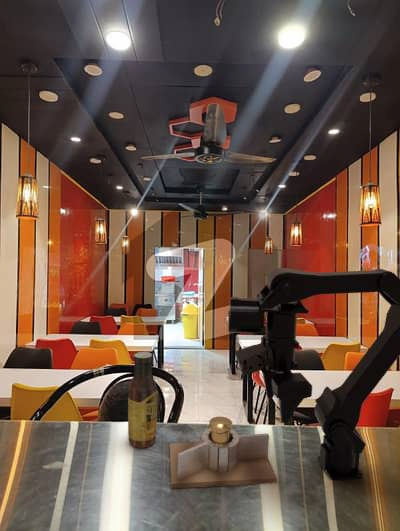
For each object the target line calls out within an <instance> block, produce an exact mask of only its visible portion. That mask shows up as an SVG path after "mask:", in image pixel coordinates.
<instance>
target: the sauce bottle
mask: <svg viewBox="0 0 400 531" xmlns="http://www.w3.org/2000/svg"><path fill="white" fill-rule="evenodd" d="M153 360H154V359H153V354H152V353H151V352H148V351H139V352H136V353H134V354H133V363H134V370H133V371H134V372H133V374H134V375H133V377H132V378H131V379H130V382H129V384H128V385H129V386H128V397H127V398H128V399H127V402H128V405H127V406H128V407H127V415H128V416H127V420H128V421H127V422H128V423H127V424H128V425H127V430H128V431H127V434H128V442H129V444H130V445H131V446H132V447H134V448H138V449H139V448H140V449H143V448H147V447H150V446H151V445H154V443H155V442H156V438H157V424H158V421H157V420H158V416H157V415H158V414H157V413H158V387H157V385H156V381H155V379H154V376H153V371H152V370H153V369H152V368H153V367H152V364H153V363H152V362H153Z"/></svg>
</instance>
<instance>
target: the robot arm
mask: <svg viewBox="0 0 400 531" xmlns="http://www.w3.org/2000/svg"><path fill="white" fill-rule="evenodd" d="M359 293H361V294H363V293H364V294H365V293H379V295H380V296H381V297H382V298H383V299H384V300H385V301H386V302H387V303H388V304H389V305H390V307H388V308H389V309H388V310H387V312H386V316H385V321H384V326H383V329H382V331H381V332H380V334H379V335H378V336H377V337H376V339H375V340H374V341H373V342H372V344H371V346H370V347H369V348H368V349H367V350H366V352H365V353H364V354H363V356H362V358H360V360H359V362H358V363H357V364H356V365H355V366H354V368H353V370H352V371H351V372H350V373H349V375H348V376H347V377H346V379H345V380H344V381H343V383H342V384H341V385H340V386H338V387H336V388H334V389H331V388H330V387H329V386H325V388H324V389H323V391H322V393H321V395H319V397H317V398H315V399H314V400H315V403H316V404H315V406H314V415H315V418H316V419H317V422H318V423H319V426H320V427H321V430H322V432H323V433H324V435H323V439H322V440H323V441H322V443H320V448H319V450H320V451H319V455H318V456H317V459H318V461H319V463H320V464H321V466H322V467H323V469H324V470H325V472H326V473H327V474H328V476H329V478H330V479H331V480H349V479H362V478H363V477H364V476H363V473H362V471H361V470H360V469H359V466H360V465H359V464H360V455H361V454H362V453H363V451H364V449H365V448H366V442H365V441H364V439H363V438H362V436H361V435H360V433H359V431H358V430H357V429H356V427H357V426H358V425H359V421H360V419H361V412H362V407H363V404H364V402H365V401H366V400H367V399H368V397H369V396H370V395H371V394H372V392H373V391H374V390H375V388H376V387H377V386H378V384H379V383H380V381H382V379H383V378H384V376H385V375H386V374H387V372H388V371H389V370H390V369H391V367H392V366H393V365H394V363H395V362H396V361H397V360H398V358H399V357H400V277H398V275H397V274H395V272H392V271H390V270H387V269H383V268H377V269H370V270H353V271H352V270H351V271H350V270H349V271H329V272H326V271H324V272H313V271H306V270H301V269H294V268H286V267H279V268H274V269H273V270H272V271H270V273H269V274H268V276H267V278H266V283H265V285H264V287H262V289H261V290H260V291H259V292H258V293H257V295H256V297H255V298H248V297H247V298H246V297H244V298H242V297H237V296H230V297H229V298H230V299H229V308H228V309H229V310H228V311H227V312H228V314H227V331H228V333H229V334H231V333H232V334H233V333H234V334H236V333H239V334H258V333H259V332H262V329H264V326H265V334H262V336H261V337H260V338H261V339H260V343H257V344H253V345H249V346H247V347H245V348H241V349H238V350H236V351H235V352H234V354H235V355H234V356H235V357H236V361H237V363H238V367H239V369H240V371H241V372H242V375H245V376H246V375H247V376H248V375H251V374H254V373H256V372H259V371H260V372H261V374H262V379H263V382H264V387H265V393H266V397H267V399H274V396H275V398H277V399H278V405H279V415H280V422H281V423H283V424H287V423H288V422H289V421H290V419H291V418H292V416H293V415H294V413H295V412H296V410H297V409H298V408H299V405H300V404H302V402H303V401H304V399H305V400H306V399H309V398H311V397H312V395H313V385H312V384H311V383H310V382H309V380H308V379H307V378H306V377H305V376H304V375H303V374H302V372H292V370H296V369H297V370H298V368H299V366H298V365H299V363H298V362H297V361H296V360H295V358H296V349H300V342H299V341H297V339H296V338H297V325H298V324H297V322H298V314H304V315H305V314H306V315H307V314H309V309H308V308H307V307H306V306H304V304H303V300H306V299H309V298H312V297H314V296H315V297H316V296H319V295H334V294H337V295H339V294H359ZM265 313H266V321H265ZM265 322H266V323H265Z"/></svg>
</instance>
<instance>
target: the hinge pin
mask: <svg viewBox="0 0 400 531" xmlns="http://www.w3.org/2000/svg"><path fill="white" fill-rule="evenodd" d="M208 421H209V422H208V428H210V429H211V430H212V442H213V443H216V444H219V445H220V444H228V443H229V431H231V429H233V421H232V420H231V419H230V418H228V417H226V416H225V417H224V416H215V417H212V418H210V419H209V420H208Z"/></svg>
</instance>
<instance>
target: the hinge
mask: <svg viewBox="0 0 400 531" xmlns="http://www.w3.org/2000/svg"><path fill="white" fill-rule="evenodd" d="M201 442H202V444H199V445H197V446H195V447H192V448H190V449H188V450H185V451H183V452H181V453H178V479H179V480H182V479H184V478H186V477H188V476H190V475H192V474H194V473H196V472H198V471H200V470H202V469H204V468H207V469H209V470H212V471H215V472H227V471H228V472H229V471H231V470H233V469H235V467H236V466H237V465H238V463H239V460H244V459H264V458H269V446H270V445H269V444H270V443H269V442H270V435H269V433H252V434H249V433H247V434H239V433H238V432H237V431H236V430H234V428H232V429H231V431H229V443H228V444H220V445H219V444H216V443H213V442H212V430H211V429H210V428H209V427H208V428H206V429H204V431H203V432H202V434H201Z"/></svg>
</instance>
